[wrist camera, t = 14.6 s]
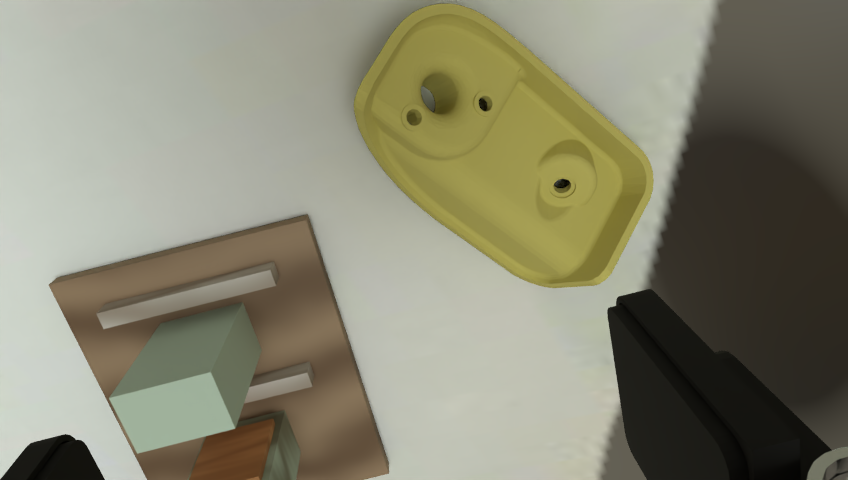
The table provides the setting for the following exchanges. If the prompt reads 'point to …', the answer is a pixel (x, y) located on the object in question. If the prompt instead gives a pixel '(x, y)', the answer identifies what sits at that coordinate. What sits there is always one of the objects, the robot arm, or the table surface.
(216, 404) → the sage green box
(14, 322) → the table surface
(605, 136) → the plastic component
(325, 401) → the wooden base board
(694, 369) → the robot arm
